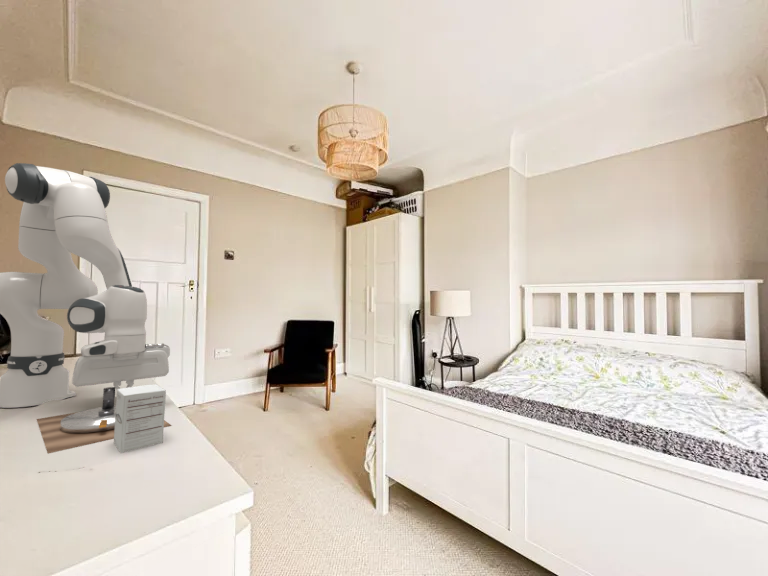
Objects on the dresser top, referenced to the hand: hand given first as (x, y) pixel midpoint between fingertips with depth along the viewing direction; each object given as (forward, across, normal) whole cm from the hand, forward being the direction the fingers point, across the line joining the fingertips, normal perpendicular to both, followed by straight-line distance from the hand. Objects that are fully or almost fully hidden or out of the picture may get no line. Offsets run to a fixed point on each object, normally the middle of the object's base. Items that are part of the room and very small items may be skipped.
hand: (122, 397), depth 89 cm
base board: (+5, +4, +6) cm, 9 cm away
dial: (+4, +4, +8) cm, 9 cm away
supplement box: (+6, 0, +26) cm, 27 cm away
